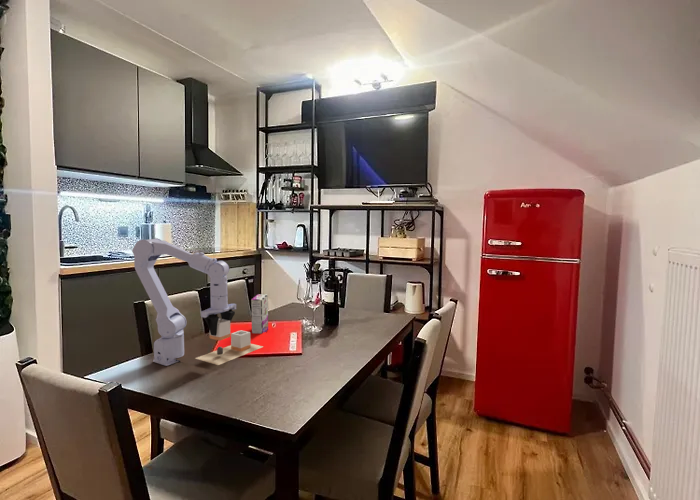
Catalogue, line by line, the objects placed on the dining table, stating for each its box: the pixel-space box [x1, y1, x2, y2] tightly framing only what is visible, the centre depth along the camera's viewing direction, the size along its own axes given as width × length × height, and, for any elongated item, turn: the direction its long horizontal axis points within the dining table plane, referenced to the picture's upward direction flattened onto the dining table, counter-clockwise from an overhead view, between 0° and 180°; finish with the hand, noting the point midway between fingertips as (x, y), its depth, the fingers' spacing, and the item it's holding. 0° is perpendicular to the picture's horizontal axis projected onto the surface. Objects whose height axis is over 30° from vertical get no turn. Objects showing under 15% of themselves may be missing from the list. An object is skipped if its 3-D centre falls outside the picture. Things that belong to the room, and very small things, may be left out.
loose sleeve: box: [208, 318, 231, 341], centre depth 137 cm, size 5×5×6 cm
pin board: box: [194, 343, 264, 366], centre depth 141 cm, size 22×12×5 cm, turn 150°
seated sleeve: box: [230, 330, 252, 351], centre depth 145 cm, size 5×5×6 cm
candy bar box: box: [250, 293, 269, 334], centre depth 170 cm, size 11×5×16 cm, turn 179°
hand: (219, 333), depth 137 cm, fingers closed on loose sleeve, 5 cm apart
